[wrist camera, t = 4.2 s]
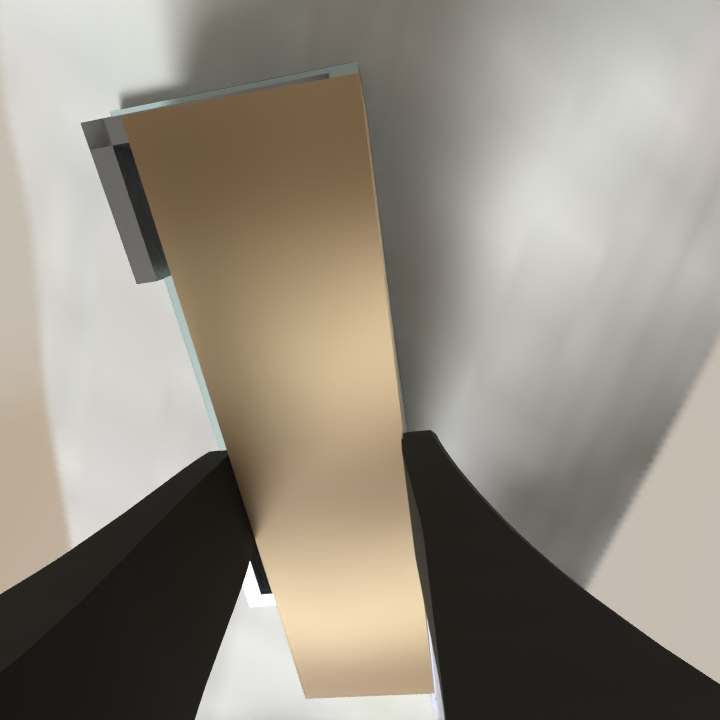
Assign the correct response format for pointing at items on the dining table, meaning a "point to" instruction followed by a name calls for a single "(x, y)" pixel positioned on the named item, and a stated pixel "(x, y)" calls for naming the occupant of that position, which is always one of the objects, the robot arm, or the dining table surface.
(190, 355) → the board
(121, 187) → the bracket
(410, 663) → the rail
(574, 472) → the dining table surface
